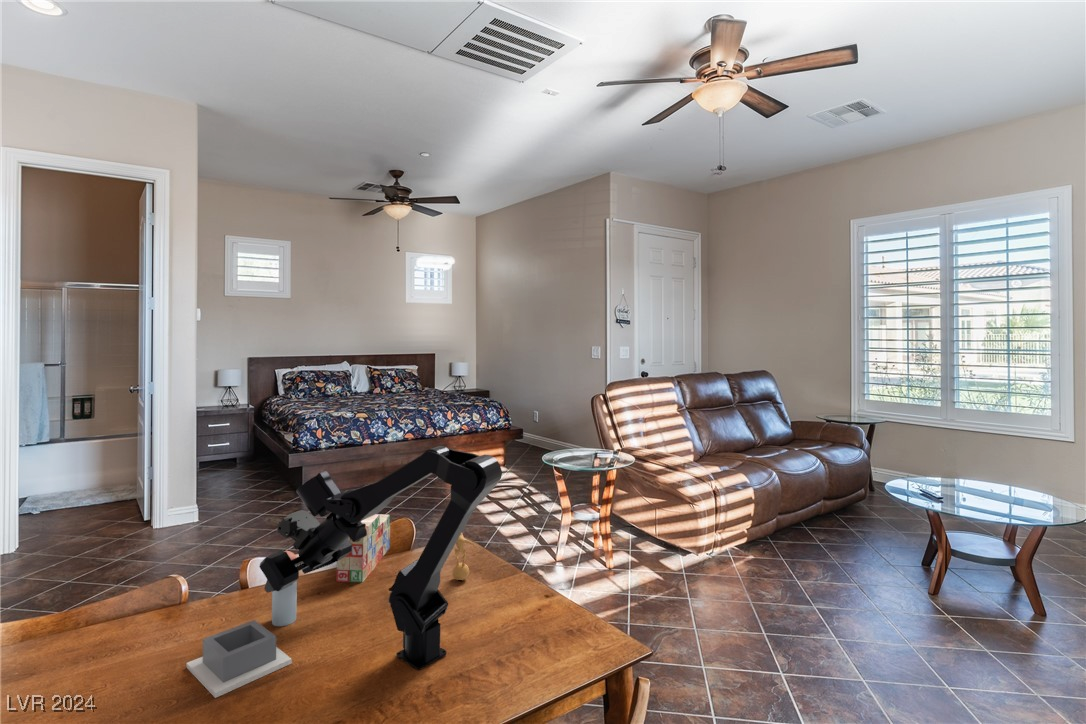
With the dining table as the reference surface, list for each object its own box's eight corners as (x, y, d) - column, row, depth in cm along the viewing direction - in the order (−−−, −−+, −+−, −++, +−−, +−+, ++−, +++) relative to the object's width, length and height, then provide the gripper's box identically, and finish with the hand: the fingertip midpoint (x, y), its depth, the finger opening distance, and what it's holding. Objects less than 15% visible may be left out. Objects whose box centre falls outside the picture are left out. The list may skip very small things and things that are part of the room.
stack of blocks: (367, 547, 146) (367, 502, 146) (390, 548, 146) (391, 503, 146) (335, 582, 125) (336, 529, 124) (362, 583, 125) (363, 530, 124)
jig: (291, 663, 93) (291, 636, 93) (215, 698, 84) (215, 667, 84) (259, 638, 101) (260, 612, 100) (186, 667, 91) (186, 639, 91)
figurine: (478, 576, 130) (479, 526, 129) (477, 587, 124) (478, 535, 123) (443, 576, 129) (444, 526, 129) (440, 587, 123) (441, 535, 123)
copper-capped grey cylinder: (300, 620, 107) (301, 551, 107) (278, 628, 104) (279, 558, 104) (289, 612, 110) (290, 546, 110) (267, 621, 107) (268, 552, 106)
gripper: (342, 488, 113) (300, 532, 117) (268, 514, 96) (222, 564, 100) (372, 531, 111) (328, 575, 115) (302, 566, 93) (253, 615, 97)
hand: (285, 580), depth 107 cm, fingers open, 9 cm apart
